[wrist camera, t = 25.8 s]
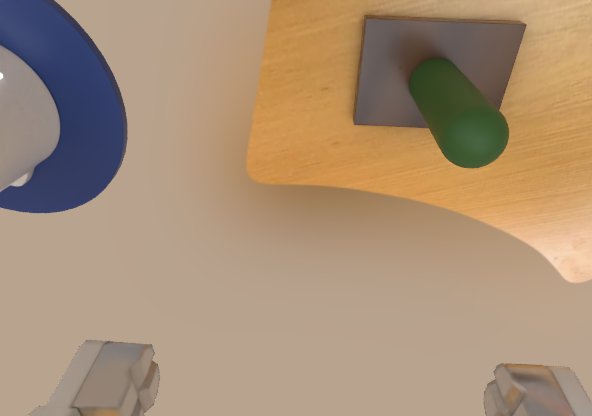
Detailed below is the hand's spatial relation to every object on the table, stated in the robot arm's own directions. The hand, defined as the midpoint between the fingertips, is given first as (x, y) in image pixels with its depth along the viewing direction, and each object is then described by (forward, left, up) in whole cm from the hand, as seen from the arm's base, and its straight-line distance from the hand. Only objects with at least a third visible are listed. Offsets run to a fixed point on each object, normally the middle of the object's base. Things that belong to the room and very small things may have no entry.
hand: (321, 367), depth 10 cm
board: (+11, -3, -35) cm, 37 cm away
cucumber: (+11, -3, -34) cm, 36 cm away
